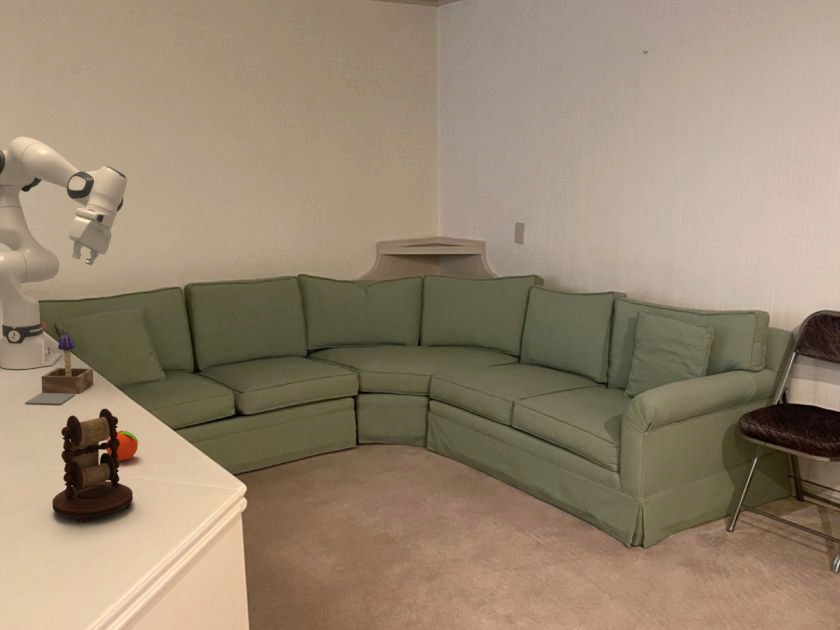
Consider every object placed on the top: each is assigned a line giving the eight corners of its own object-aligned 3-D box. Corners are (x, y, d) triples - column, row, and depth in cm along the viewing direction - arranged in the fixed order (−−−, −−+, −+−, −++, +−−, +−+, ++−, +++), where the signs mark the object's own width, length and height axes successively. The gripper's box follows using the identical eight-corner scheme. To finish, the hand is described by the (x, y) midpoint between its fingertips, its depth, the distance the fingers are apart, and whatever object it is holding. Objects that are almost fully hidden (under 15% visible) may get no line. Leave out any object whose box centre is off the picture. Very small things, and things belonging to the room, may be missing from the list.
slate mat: (40, 394, 233) (40, 393, 232) (75, 395, 233) (75, 393, 233) (25, 404, 223) (25, 402, 223) (60, 405, 223) (60, 403, 223)
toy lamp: (72, 390, 238) (70, 337, 235) (57, 390, 238) (54, 336, 235) (79, 386, 242) (77, 333, 240) (64, 386, 242) (62, 333, 240)
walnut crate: (57, 383, 245) (57, 367, 244) (93, 384, 246) (92, 368, 245) (42, 392, 234) (41, 376, 234) (79, 393, 235) (78, 377, 234)
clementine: (148, 457, 185) (147, 428, 184) (130, 467, 179) (129, 437, 177) (119, 453, 187) (118, 424, 186) (100, 463, 181) (98, 433, 179)
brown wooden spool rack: (108, 488, 167) (105, 397, 163) (147, 508, 158) (144, 412, 154) (39, 509, 155) (34, 412, 152) (76, 532, 146) (71, 429, 143)
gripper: (101, 224, 248) (86, 265, 246) (74, 207, 228) (57, 251, 226) (120, 229, 248) (105, 270, 246) (94, 213, 227) (77, 258, 226)
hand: (82, 261), depth 236 cm, fingers open, 8 cm apart
